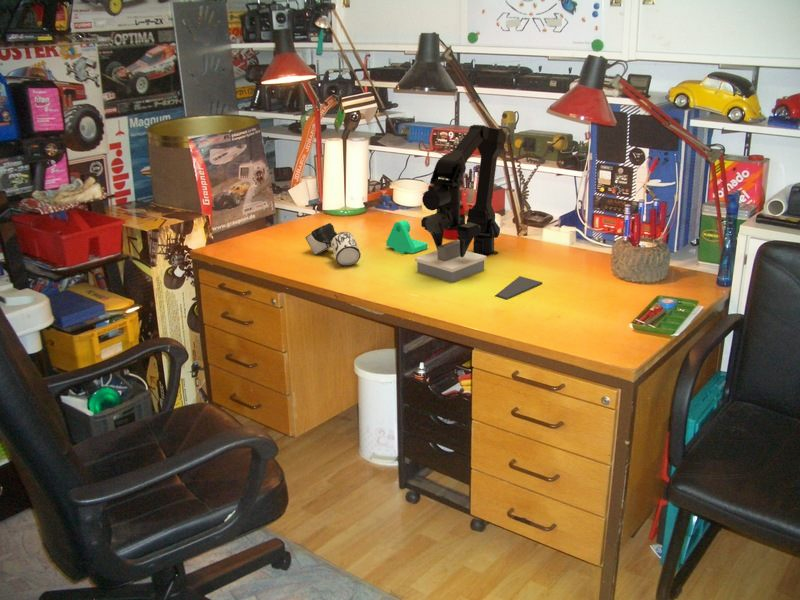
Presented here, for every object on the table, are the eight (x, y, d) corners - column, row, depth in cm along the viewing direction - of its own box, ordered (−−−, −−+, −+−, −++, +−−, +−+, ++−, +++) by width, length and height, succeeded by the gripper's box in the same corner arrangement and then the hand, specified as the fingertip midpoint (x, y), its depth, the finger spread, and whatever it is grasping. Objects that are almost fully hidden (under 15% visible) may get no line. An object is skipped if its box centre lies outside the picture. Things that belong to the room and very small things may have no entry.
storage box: (449, 262, 245) (449, 249, 243) (484, 272, 235) (484, 259, 234) (417, 273, 236) (417, 261, 234) (452, 284, 226) (452, 271, 225)
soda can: (457, 232, 274) (457, 198, 270) (469, 237, 268) (469, 202, 264) (438, 235, 271) (438, 201, 266) (450, 241, 265) (450, 206, 260)
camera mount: (428, 251, 256) (428, 220, 252) (412, 256, 251) (411, 225, 248) (403, 243, 264) (402, 214, 261) (386, 249, 260) (385, 219, 256)
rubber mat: (498, 271, 235) (498, 270, 235) (542, 283, 224) (542, 282, 224) (462, 286, 225) (462, 284, 225) (506, 299, 214) (506, 297, 214)
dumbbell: (369, 265, 245) (367, 234, 242) (341, 272, 240) (339, 240, 236) (328, 246, 265) (326, 217, 261) (302, 252, 260) (300, 222, 256)
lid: (449, 249, 244) (448, 233, 242) (486, 259, 234) (486, 243, 232) (414, 261, 234) (414, 245, 232) (452, 272, 224) (452, 255, 222)
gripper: (407, 202, 229) (409, 253, 234) (455, 213, 216) (455, 267, 222) (433, 195, 236) (434, 245, 241) (481, 205, 223) (481, 257, 229)
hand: (450, 253), depth 233 cm, fingers open, 9 cm apart
